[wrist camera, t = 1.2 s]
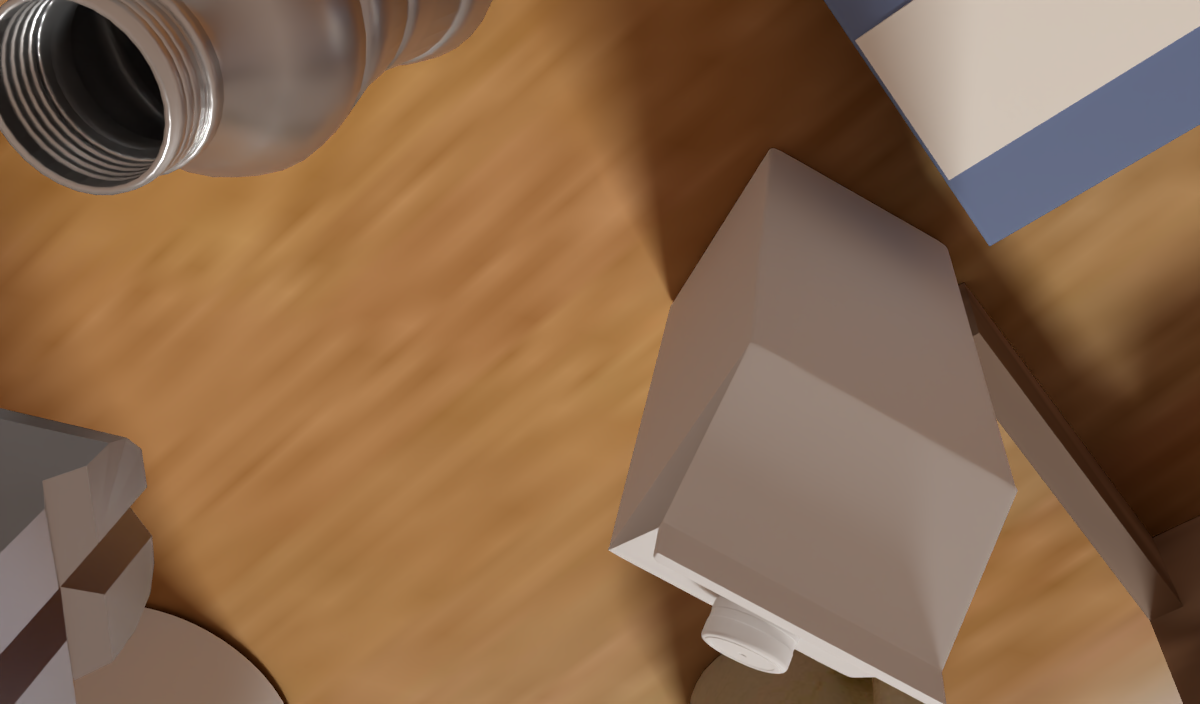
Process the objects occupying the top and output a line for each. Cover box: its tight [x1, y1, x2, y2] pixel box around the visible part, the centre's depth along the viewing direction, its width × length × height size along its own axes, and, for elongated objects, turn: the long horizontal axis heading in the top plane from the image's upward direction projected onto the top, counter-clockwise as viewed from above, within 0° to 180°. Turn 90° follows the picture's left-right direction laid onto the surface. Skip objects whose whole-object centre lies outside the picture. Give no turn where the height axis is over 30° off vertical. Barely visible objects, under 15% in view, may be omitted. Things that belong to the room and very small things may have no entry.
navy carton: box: [824, 0, 1200, 246], centre depth 33 cm, size 9×10×5 cm
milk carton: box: [608, 148, 1017, 704], centre depth 32 cm, size 7×7×19 cm
